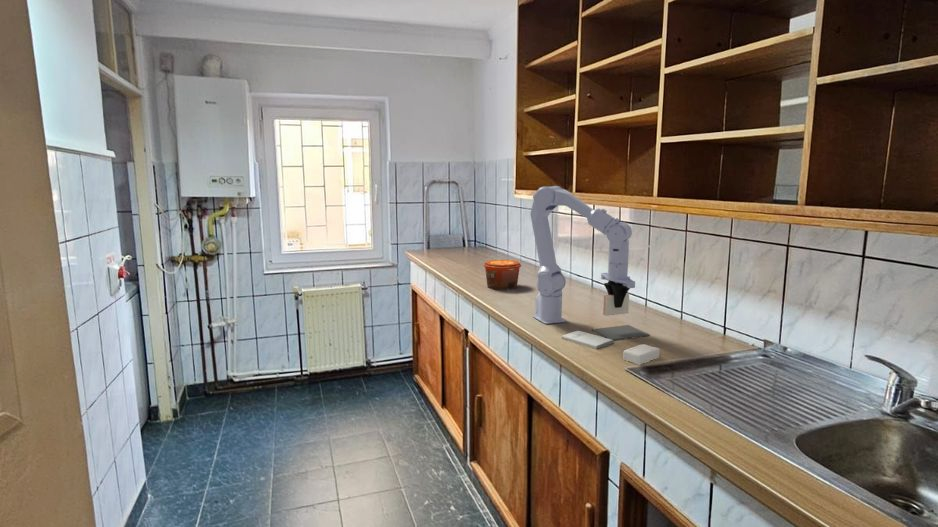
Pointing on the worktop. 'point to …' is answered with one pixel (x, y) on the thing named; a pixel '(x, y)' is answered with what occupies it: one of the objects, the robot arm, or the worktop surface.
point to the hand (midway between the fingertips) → (616, 306)
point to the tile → (610, 308)
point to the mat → (620, 332)
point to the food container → (502, 274)
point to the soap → (641, 354)
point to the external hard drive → (587, 339)
